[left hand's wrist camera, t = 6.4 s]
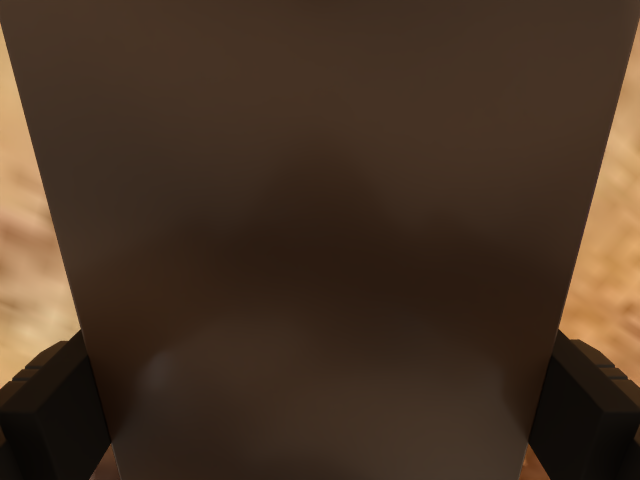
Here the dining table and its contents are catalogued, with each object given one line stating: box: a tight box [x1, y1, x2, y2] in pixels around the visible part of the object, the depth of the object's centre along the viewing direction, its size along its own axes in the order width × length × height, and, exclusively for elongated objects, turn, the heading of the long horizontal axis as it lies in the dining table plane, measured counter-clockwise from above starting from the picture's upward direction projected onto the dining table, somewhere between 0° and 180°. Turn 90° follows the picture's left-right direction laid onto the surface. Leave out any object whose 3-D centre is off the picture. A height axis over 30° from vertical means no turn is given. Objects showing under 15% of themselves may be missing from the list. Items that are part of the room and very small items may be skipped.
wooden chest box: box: [0, 0, 640, 480], centre depth 11 cm, size 18×11×8 cm, turn 0°
